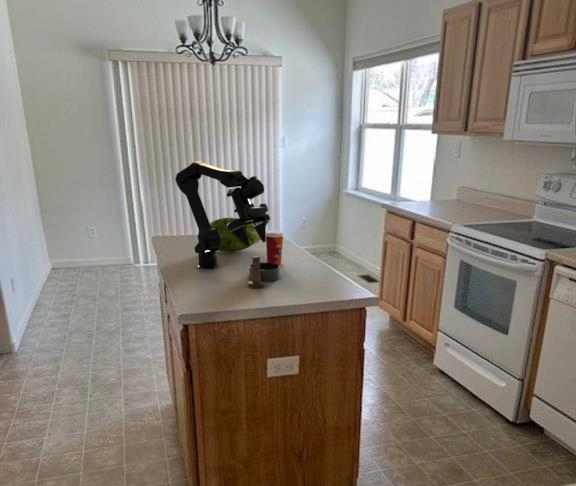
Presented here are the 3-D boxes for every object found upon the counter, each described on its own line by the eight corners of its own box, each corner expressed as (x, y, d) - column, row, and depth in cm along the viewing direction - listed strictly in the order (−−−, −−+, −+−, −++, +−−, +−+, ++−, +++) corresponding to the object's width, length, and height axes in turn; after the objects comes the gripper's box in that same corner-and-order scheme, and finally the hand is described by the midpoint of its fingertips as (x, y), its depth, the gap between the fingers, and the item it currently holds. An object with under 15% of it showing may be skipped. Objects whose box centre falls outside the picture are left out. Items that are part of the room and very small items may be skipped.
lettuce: (267, 252, 245) (268, 218, 239) (211, 256, 236) (209, 221, 230) (257, 245, 258) (257, 213, 252) (203, 249, 248) (201, 215, 243)
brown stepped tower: (245, 285, 195) (245, 256, 191) (257, 283, 199) (257, 254, 194) (254, 289, 191) (254, 259, 187) (267, 286, 195) (267, 257, 191)
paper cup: (281, 268, 219) (281, 234, 214) (263, 266, 220) (263, 233, 215) (285, 263, 226) (285, 230, 221) (267, 262, 228) (267, 229, 222)
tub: (244, 279, 202) (244, 268, 201) (255, 272, 213) (255, 261, 211) (273, 282, 199) (274, 271, 198) (282, 275, 210) (283, 263, 208)
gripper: (240, 198, 186) (255, 241, 187) (273, 193, 200) (287, 233, 201) (219, 209, 193) (234, 250, 195) (252, 204, 207) (266, 242, 209)
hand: (256, 244), depth 200 cm, fingers open, 9 cm apart
